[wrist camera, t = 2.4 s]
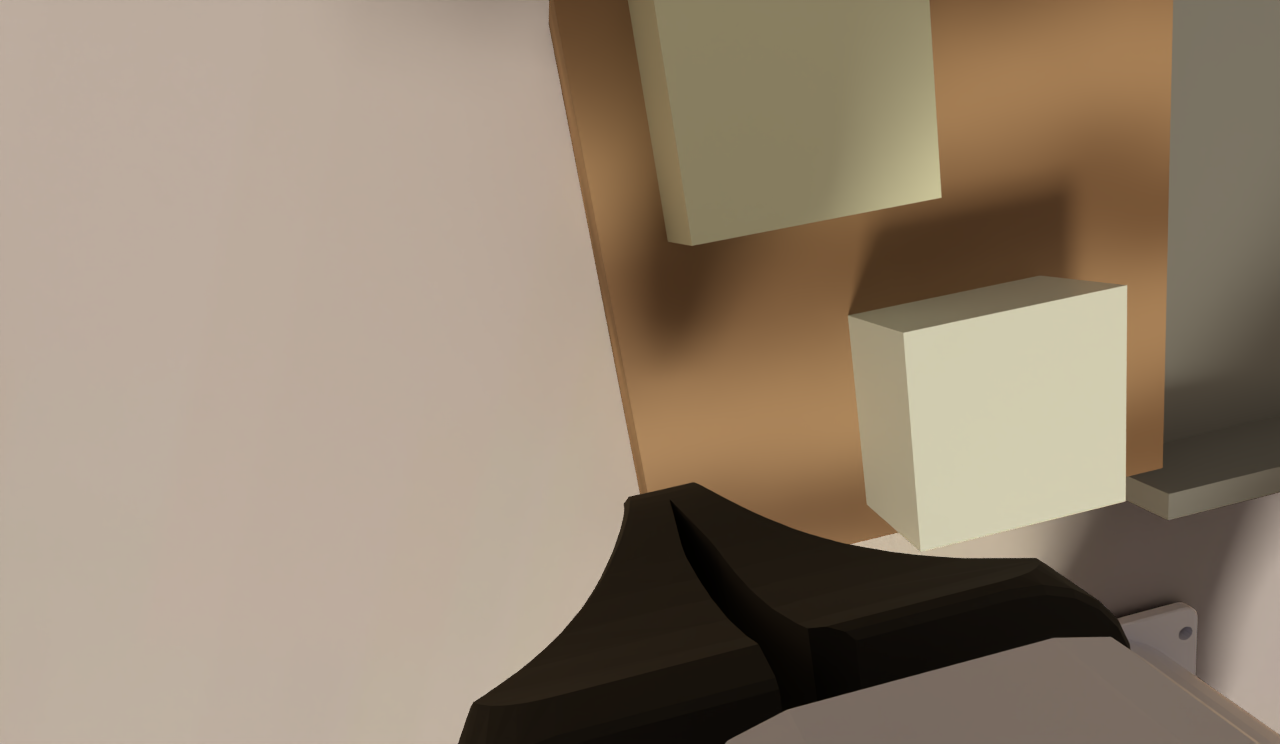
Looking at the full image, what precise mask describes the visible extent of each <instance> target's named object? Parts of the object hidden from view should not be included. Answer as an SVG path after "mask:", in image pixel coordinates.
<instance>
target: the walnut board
mask: <svg viewBox="0 0 1280 744" xmlns="http://www.w3.org/2000/svg"><path fill="white" fill-rule="evenodd" d="M929 2H930V18H931V34H932V50H933V67H934V83H935V99H936V115H937V132H938V148H939V164H940V180H941V197H942V198H937V199H932V200H927V201H922V202H917V203H911V204H906V205H901V206H896V207H891V208H886V209H880V210H875V211H870V212H865V213H860V214H855V215H849V216H844V217H839V218H834V219H829V220H823V221H818V222H813V223H808V224H803V225H798V226H792V227H787V228H782V229H777V230H772V231H766V232H761V233H756V234H751V235H746V236H741V237H735V238H730V239H725V240H720V241H715V242H709V243H704V244H699V245H694V246H690V245H684V244H678V243H673V242H668V240H667V234H666V228H665V222H664V216H663V210H662V204H661V198H660V191H659V185H658V179H657V173H656V167H655V161H654V155H653V149H652V143H651V137H650V131H649V125H648V119H647V113H646V107H645V101H644V95H643V89H642V83H641V77H640V71H639V65H638V59H637V53H636V47H635V41H634V35H633V28H632V22H631V16H630V10H629V4H628V0H549V28H550V33H551V38H552V43H553V48H554V53H555V59H556V64H557V69H558V74H559V79H560V84H561V89H562V95H563V100H564V105H565V110H566V115H567V120H568V125H569V131H570V136H571V141H572V146H573V151H574V156H575V161H576V166H577V172H578V177H579V182H580V187H581V192H582V197H583V202H584V208H585V213H586V218H587V223H588V228H589V233H590V238H591V244H592V249H593V254H594V259H595V264H596V269H597V274H598V280H599V285H600V290H601V295H602V300H603V305H604V310H605V316H606V321H607V326H608V331H609V336H610V341H611V346H612V352H613V357H614V362H615V367H616V372H617V377H618V382H619V388H620V393H621V398H622V403H623V408H624V413H625V418H626V424H627V429H628V434H629V439H630V444H631V449H632V454H633V460H634V465H635V470H636V475H637V480H638V485H639V490H640V494H644V493H648V492H653V491H657V490H662V489H666V488H670V487H675V486H679V485H683V484H688V483H692V482H695V483H697V484H700V485H702V486H704V487H705V488H707V489H709V490H711V491H713V492H715V493H717V494H719V495H720V496H722V497H724V498H726V499H728V500H730V501H732V502H734V503H736V504H738V505H740V506H742V507H744V508H746V509H748V510H750V511H752V512H754V513H757V514H759V515H761V516H763V517H766V518H768V519H770V520H773V521H775V522H778V523H781V524H783V525H786V526H788V527H791V528H793V529H796V530H799V531H802V532H805V533H808V534H812V535H816V536H819V537H823V538H826V539H830V540H833V541H837V542H841V543H846V544H853V543H857V542H861V541H865V540H869V539H873V538H877V537H881V536H886V535H890V534H894V533H898V532H897V531H896V530H895V529H894V528H893V527H892V526H891V525H889V524H888V523H887V522H886V521H885V520H884V519H883V518H881V517H880V516H879V515H878V514H877V513H876V512H875V511H874V510H872V509H871V508H870V507H869V506H868V505H867V501H866V491H865V481H864V471H863V461H862V451H861V441H860V432H859V422H858V412H857V402H856V392H855V382H854V372H853V362H852V352H851V342H850V332H849V322H848V315H852V314H857V313H862V312H867V311H872V310H876V309H881V308H886V307H891V306H896V305H900V304H905V303H910V302H915V301H920V300H924V299H929V298H934V297H939V296H944V295H948V294H953V293H958V292H963V291H968V290H972V289H977V288H982V287H987V286H992V285H996V284H1001V283H1006V282H1011V281H1016V280H1020V279H1025V278H1030V277H1035V276H1049V277H1058V278H1067V279H1076V280H1085V281H1094V282H1103V283H1112V284H1121V285H1127V376H1126V477H1128V476H1132V475H1136V474H1140V473H1144V472H1148V471H1153V470H1157V469H1161V468H1163V431H1164V386H1165V342H1166V297H1167V253H1168V208H1169V164H1170V119H1171V75H1172V30H1173V0H929Z"/></svg>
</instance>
